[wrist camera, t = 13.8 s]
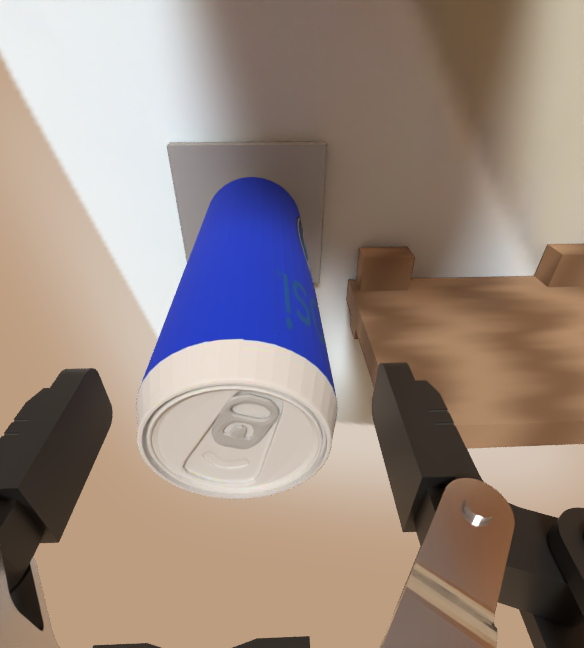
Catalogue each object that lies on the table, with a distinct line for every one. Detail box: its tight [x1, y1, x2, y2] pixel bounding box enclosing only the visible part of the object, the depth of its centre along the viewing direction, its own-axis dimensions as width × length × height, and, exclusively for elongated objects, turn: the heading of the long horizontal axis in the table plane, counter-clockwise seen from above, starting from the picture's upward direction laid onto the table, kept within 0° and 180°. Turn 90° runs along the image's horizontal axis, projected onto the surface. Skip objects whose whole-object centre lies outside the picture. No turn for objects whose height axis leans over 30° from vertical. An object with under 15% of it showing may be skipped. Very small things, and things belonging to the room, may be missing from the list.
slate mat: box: [167, 142, 327, 283], centre depth 22 cm, size 8×8×1 cm
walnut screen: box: [346, 244, 584, 448], centre depth 21 cm, size 16×6×12 cm, turn 90°
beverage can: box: [136, 177, 337, 499], centre depth 15 cm, size 5×5×15 cm
